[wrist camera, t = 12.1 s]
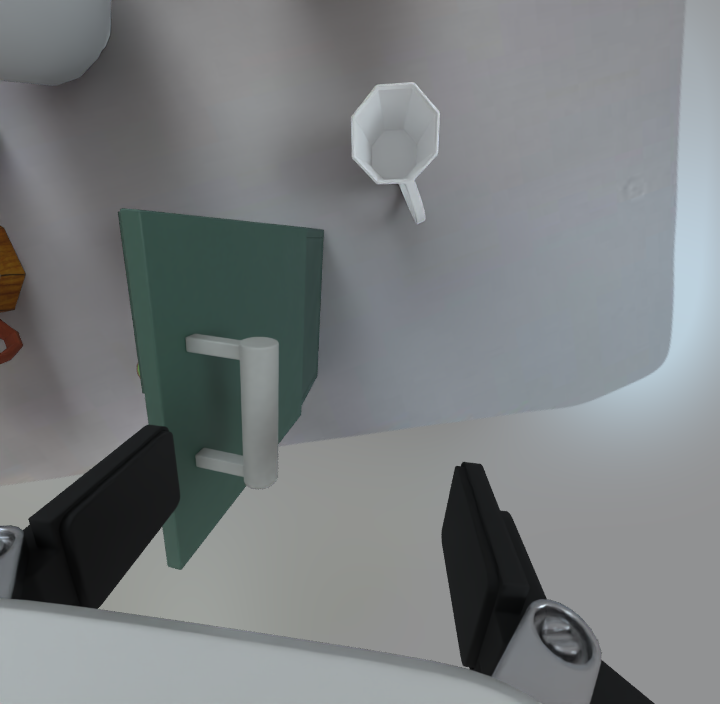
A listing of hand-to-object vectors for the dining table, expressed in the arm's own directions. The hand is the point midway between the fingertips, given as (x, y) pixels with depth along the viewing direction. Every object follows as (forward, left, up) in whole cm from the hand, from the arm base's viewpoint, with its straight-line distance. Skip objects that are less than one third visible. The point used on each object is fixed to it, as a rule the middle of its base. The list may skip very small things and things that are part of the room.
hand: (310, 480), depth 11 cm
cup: (-14, +2, -29) cm, 32 cm away
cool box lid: (0, -7, -11) cm, 13 cm away
